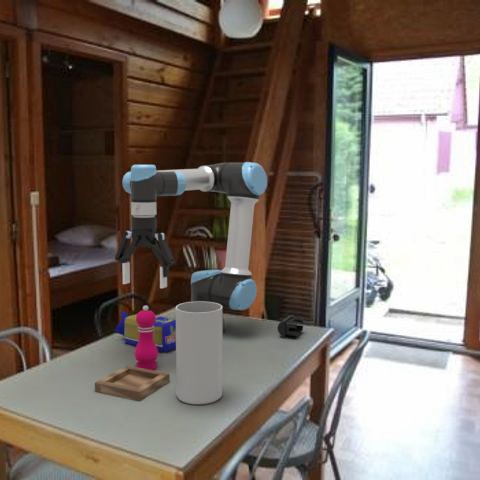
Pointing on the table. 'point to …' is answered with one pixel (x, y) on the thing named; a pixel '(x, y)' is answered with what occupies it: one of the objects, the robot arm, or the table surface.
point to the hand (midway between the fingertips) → (144, 285)
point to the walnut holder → (132, 383)
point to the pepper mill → (146, 340)
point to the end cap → (290, 327)
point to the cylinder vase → (199, 352)
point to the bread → (161, 334)
